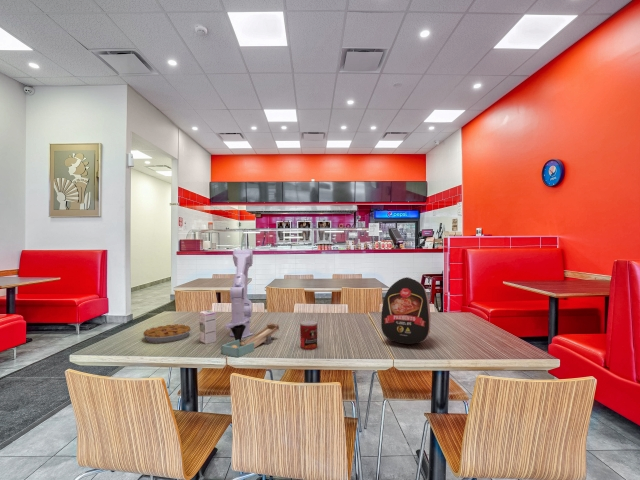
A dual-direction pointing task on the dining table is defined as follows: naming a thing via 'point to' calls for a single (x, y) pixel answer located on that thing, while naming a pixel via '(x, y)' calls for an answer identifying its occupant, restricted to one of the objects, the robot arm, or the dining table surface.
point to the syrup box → (207, 326)
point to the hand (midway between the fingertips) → (238, 341)
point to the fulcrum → (267, 340)
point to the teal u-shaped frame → (236, 349)
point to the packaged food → (406, 312)
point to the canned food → (308, 334)
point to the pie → (166, 333)
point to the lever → (261, 335)
